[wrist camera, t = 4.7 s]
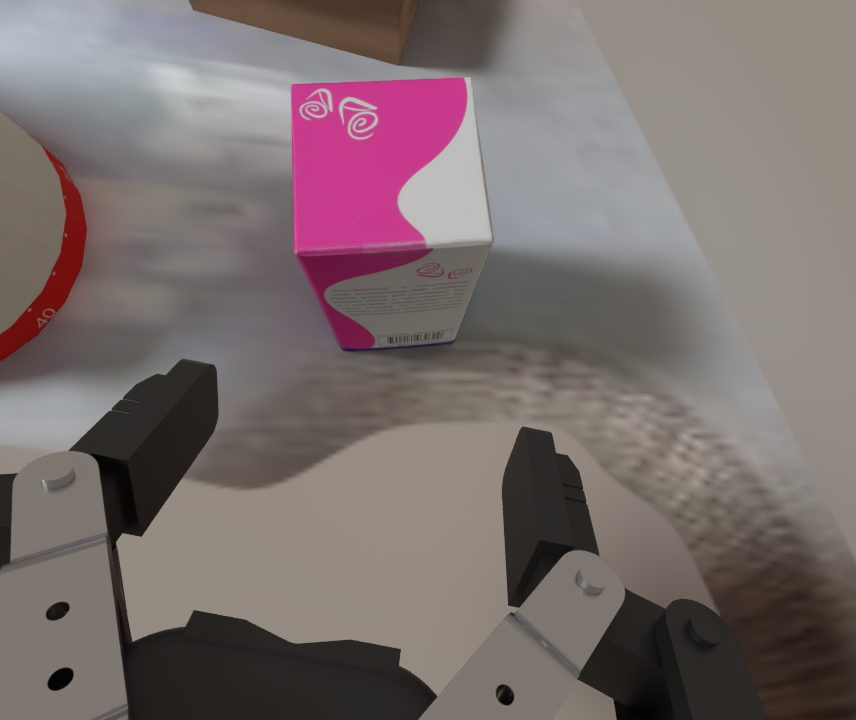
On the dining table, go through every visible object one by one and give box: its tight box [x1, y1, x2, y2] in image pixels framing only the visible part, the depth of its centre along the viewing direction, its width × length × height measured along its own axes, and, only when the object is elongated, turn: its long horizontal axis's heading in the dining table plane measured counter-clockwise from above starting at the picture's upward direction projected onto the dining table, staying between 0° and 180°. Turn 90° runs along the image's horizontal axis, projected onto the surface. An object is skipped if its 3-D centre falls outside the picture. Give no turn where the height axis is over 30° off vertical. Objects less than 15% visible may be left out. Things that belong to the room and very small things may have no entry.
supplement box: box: [291, 77, 494, 351], centre depth 20 cm, size 6×6×12 cm
